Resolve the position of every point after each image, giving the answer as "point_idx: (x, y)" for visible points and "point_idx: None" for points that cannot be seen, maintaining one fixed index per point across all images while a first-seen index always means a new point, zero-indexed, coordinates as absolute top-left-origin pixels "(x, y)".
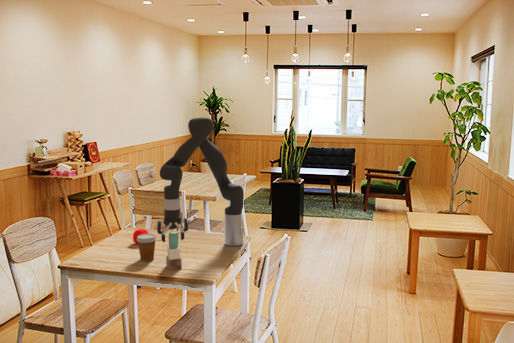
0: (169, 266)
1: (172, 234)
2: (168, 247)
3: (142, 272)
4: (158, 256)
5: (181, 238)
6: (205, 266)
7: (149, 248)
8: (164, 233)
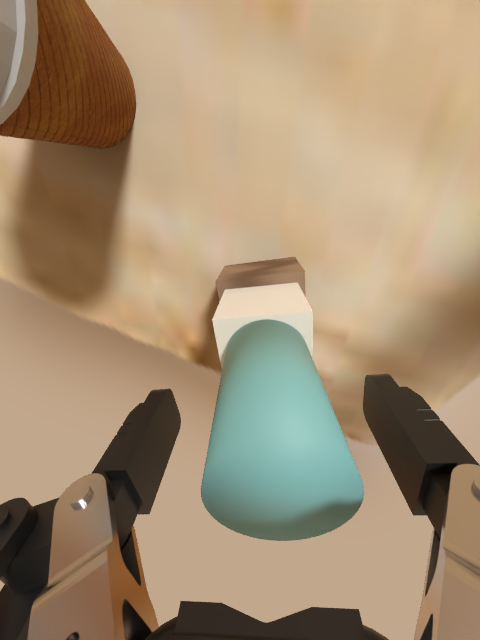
0: None
1: (255, 534)
2: (222, 346)
3: (115, 324)
4: (164, 25)
5: (372, 421)
6: (426, 319)
7: (50, 133)
8: (131, 544)
